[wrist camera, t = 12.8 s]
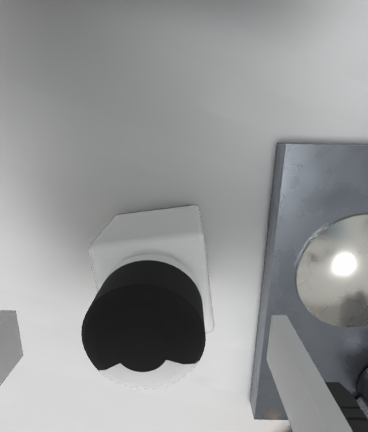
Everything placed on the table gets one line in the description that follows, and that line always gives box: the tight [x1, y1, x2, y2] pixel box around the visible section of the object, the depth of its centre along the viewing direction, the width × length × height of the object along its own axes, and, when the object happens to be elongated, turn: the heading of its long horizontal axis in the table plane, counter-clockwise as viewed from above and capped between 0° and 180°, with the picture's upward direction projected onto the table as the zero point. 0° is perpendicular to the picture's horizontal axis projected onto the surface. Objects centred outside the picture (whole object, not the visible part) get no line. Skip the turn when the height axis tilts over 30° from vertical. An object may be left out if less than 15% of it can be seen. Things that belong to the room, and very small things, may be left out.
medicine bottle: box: [82, 205, 214, 389], centre depth 19 cm, size 7×7×12 cm
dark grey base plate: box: [250, 143, 368, 420], centre depth 24 cm, size 26×16×2 cm, turn 179°
